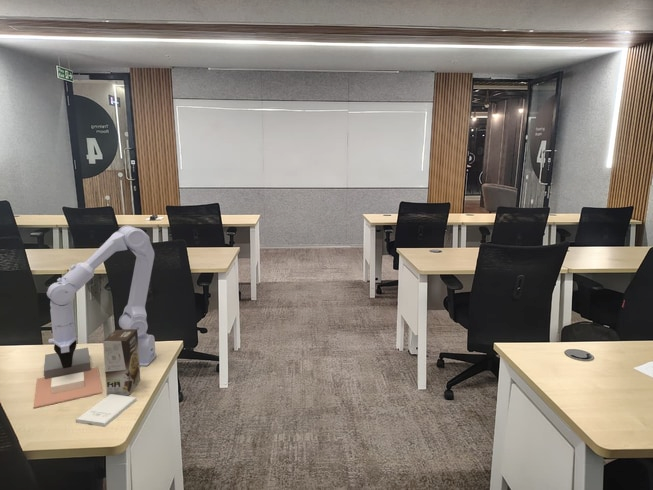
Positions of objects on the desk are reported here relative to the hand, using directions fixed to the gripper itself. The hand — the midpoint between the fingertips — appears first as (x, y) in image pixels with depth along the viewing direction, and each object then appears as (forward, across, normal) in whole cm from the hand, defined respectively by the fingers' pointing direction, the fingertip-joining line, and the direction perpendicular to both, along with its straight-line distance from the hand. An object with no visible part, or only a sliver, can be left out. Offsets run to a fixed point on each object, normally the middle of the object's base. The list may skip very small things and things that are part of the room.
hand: (67, 366), depth 129 cm
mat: (+4, +6, 0) cm, 7 cm away
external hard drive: (+4, +25, +8) cm, 27 cm away
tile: (+1, +6, 0) cm, 6 cm away
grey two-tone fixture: (+4, -8, 0) cm, 9 cm away
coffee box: (+4, +14, +14) cm, 20 cm away
